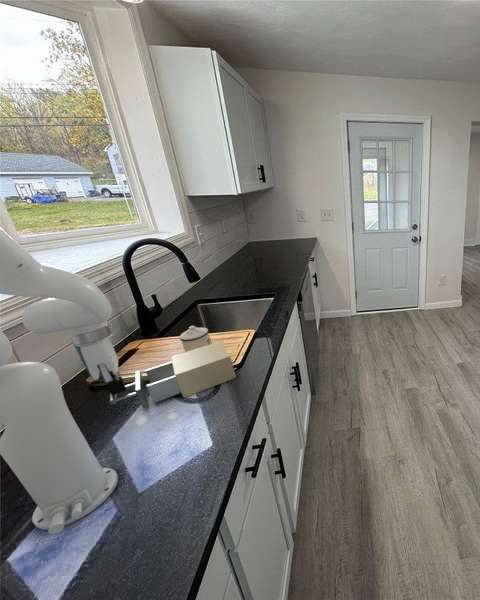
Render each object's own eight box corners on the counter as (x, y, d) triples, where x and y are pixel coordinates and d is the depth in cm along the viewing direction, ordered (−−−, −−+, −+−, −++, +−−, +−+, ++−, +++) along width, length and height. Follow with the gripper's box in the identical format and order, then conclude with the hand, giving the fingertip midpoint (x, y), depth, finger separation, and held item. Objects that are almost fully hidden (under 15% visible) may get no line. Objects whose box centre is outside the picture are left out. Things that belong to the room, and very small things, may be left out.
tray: (114, 420, 84) (105, 401, 82) (116, 397, 93) (108, 380, 91) (198, 388, 96) (191, 371, 93) (192, 371, 105) (186, 355, 102)
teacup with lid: (216, 355, 115) (207, 327, 111) (187, 364, 111) (176, 335, 106) (213, 343, 124) (204, 316, 120) (186, 350, 120) (176, 323, 116)
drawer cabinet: (183, 397, 93) (174, 375, 90) (178, 377, 103) (170, 356, 100) (236, 377, 101) (229, 356, 98) (227, 360, 111) (220, 340, 108)
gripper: (76, 329, 85) (103, 384, 92) (67, 350, 74) (99, 411, 81) (112, 321, 89) (135, 374, 96) (108, 339, 78) (135, 398, 85)
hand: (119, 391), depth 89 cm, fingers closed
